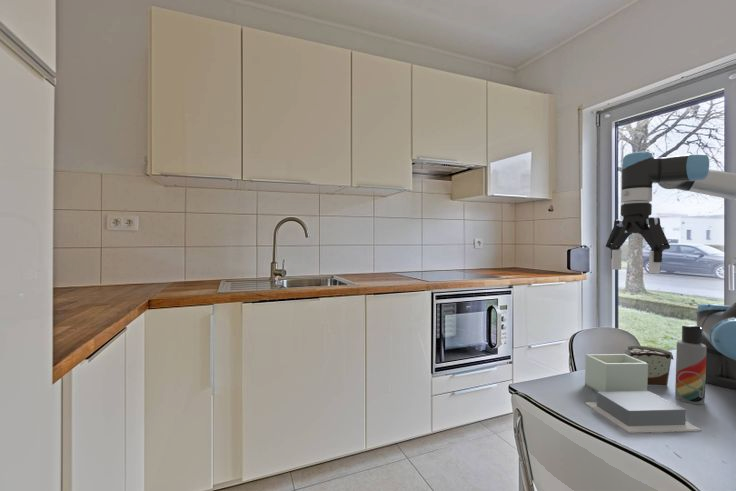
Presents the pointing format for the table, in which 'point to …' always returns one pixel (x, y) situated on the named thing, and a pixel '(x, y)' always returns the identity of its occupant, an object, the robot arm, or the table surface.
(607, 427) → the table surface
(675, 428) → the mat
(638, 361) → the storage box
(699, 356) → the lotion bottle
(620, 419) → the lid
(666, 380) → the food container
